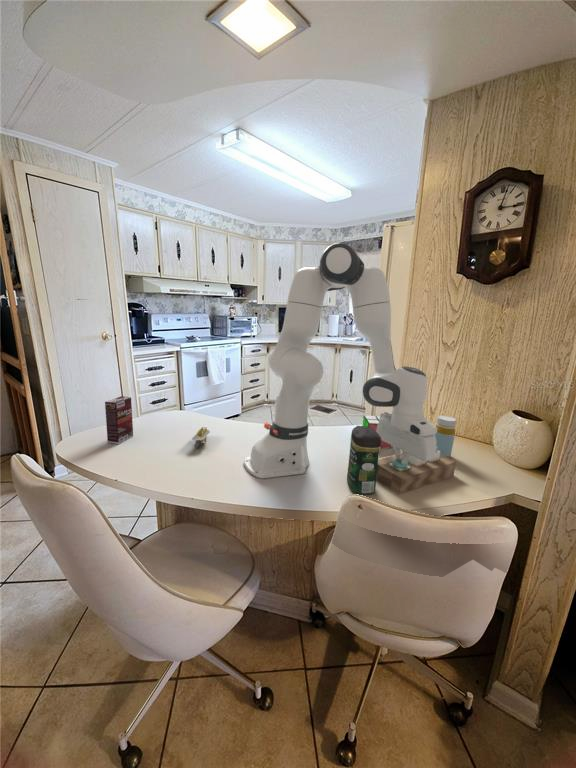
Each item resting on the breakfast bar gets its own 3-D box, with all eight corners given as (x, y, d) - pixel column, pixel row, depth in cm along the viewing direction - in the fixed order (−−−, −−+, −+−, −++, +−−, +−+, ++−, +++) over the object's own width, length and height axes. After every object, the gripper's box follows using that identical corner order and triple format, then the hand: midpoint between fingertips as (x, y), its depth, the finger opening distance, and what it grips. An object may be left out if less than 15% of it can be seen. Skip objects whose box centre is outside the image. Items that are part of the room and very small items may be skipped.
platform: (224, 438, 126) (224, 423, 124) (209, 458, 108) (209, 441, 107) (195, 436, 127) (195, 420, 125) (176, 455, 109) (175, 438, 108)
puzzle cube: (391, 448, 123) (394, 424, 121) (366, 447, 124) (368, 423, 121) (384, 438, 133) (387, 416, 131) (360, 437, 133) (363, 415, 131)
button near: (398, 484, 97) (400, 466, 96) (387, 477, 101) (389, 460, 99) (408, 481, 99) (411, 463, 98) (397, 474, 103) (399, 457, 102)
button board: (399, 494, 92) (401, 478, 91) (370, 474, 102) (372, 460, 101) (453, 475, 105) (456, 461, 104) (423, 460, 115) (425, 447, 114)
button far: (429, 467, 103) (432, 450, 102) (417, 461, 107) (420, 444, 106) (438, 464, 105) (440, 448, 104) (426, 458, 109) (428, 442, 108)
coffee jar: (343, 478, 99) (349, 422, 95) (368, 478, 100) (374, 423, 96) (351, 495, 90) (357, 435, 86) (378, 496, 90) (386, 436, 86)
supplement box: (118, 444, 114) (115, 403, 111) (107, 443, 115) (103, 401, 111) (134, 436, 123) (131, 396, 119) (123, 434, 123) (120, 395, 120)
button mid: (414, 471, 100) (417, 454, 98) (403, 465, 104) (405, 448, 102) (424, 468, 102) (427, 451, 101) (412, 462, 106) (415, 446, 104)
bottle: (452, 455, 120) (459, 418, 116) (447, 461, 115) (454, 422, 111) (433, 449, 124) (440, 413, 121) (427, 454, 119) (433, 417, 116)
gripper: (374, 411, 103) (369, 450, 106) (428, 433, 85) (420, 479, 89) (387, 409, 106) (383, 447, 109) (442, 430, 89) (435, 474, 92)
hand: (400, 461), depth 99 cm, fingers closed, pressing on button near
